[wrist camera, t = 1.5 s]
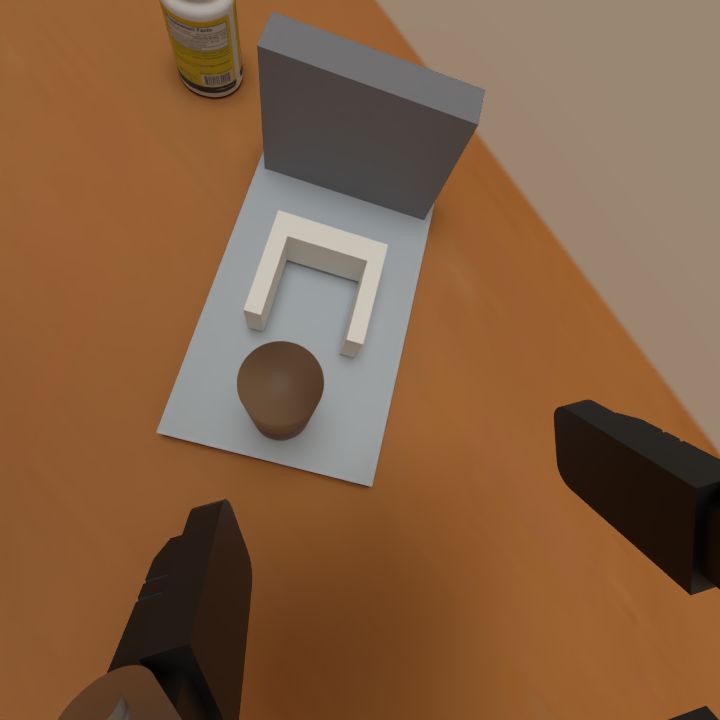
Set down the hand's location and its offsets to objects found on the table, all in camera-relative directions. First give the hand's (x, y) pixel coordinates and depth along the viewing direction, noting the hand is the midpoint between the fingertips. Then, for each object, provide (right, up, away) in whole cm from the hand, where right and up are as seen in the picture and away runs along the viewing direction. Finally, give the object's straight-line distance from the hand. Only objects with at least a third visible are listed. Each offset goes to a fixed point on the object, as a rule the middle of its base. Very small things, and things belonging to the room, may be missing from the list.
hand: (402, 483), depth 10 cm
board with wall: (-4, +7, +19) cm, 21 cm away
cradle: (-4, +7, +18) cm, 19 cm away
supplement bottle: (-12, +25, +23) cm, 36 cm away
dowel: (-6, 0, +16) cm, 17 cm away
